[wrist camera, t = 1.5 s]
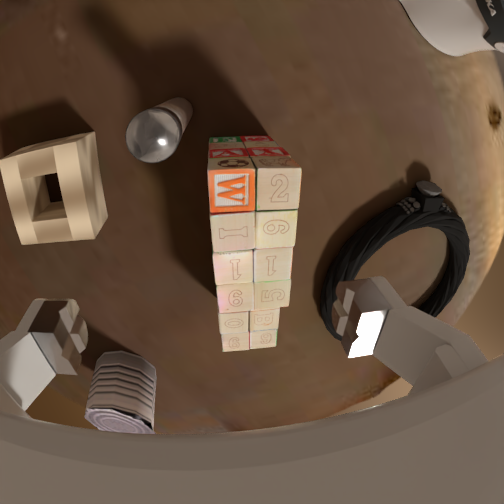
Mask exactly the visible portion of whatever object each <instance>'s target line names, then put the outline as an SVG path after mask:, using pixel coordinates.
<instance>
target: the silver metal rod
mask: <svg viewBox="0 0 504 504" xmlns="http://www.w3.org/2000/svg"><path fill="white" fill-rule="evenodd" d="M192 114H193V108H192V105H191V103H190V102H189V101H188V100H186V99H184V98H181V97H176V98H173V99H170V100H168V101H166V102H164V103H161V104H159V105H157V106H155V107H152V108H149V109H147V110H145V111H143V112H140V113H139V114H137V115H136V116H135V117H134V118H133V119H132V120H131V121H130V123H129V125H128V127H127V130H126V135H125V139H126V144H127V147H128V149H129V151H130V153H131V154H132V155H133V156H134V157H135V158H137V159H138V160H140V161H143V162H146V163H158V162H161V161H163V160H165V159H167V158H169V157H170V156H171V155H172V154H173V153H174V152H175V150H176V148H177V146H178V144H179V142H180V140H181V137H182V134H183V132H184V130H185V128H186V127H187V125H188V123H189V121H190V119H191V117H192Z"/></svg>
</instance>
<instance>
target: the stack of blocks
mask: <svg viewBox="0 0 504 504" xmlns="http://www.w3.org/2000/svg"><path fill="white" fill-rule="evenodd" d="M207 171H208V189H209V204H210V224H211V236H212V258H213V267H214V276H215V283H216V293H217V301H218V320H219V330H220V334H221V336H222V347H223V351H237V350H249V349H255V348H265V347H274V346H276V342H277V328H278V323H279V311H280V307H287V306H289V297H290V287H291V278H290V277H291V268H292V256H293V246H294V245H295V237H296V225H297V214H298V212H297V208H298V207H299V198H300V187H301V174H302V170H301V167H300V166H299V165H298V164H297V163H296V162H295V161H294V160H293V159H292V158H290V155H289V154H288V153H287V152H286V151H285V150H284V149H283V148H282V147H280V146H279V145H278V144H277V143H275V141H274V140H273V139H272V138H271V137H270V136H239V137H210V139H209V151H208V169H207Z"/></svg>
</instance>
